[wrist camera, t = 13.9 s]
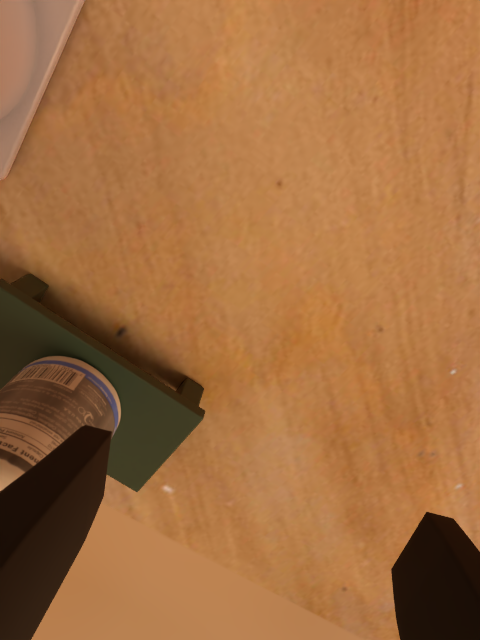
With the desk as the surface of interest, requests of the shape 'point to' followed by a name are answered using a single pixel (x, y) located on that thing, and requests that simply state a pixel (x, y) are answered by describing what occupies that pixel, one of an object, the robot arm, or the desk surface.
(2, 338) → the green footed tray
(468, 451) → the desk surface
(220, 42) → the desk surface
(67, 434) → the pill bottle
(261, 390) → the desk surface
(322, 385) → the desk surface
